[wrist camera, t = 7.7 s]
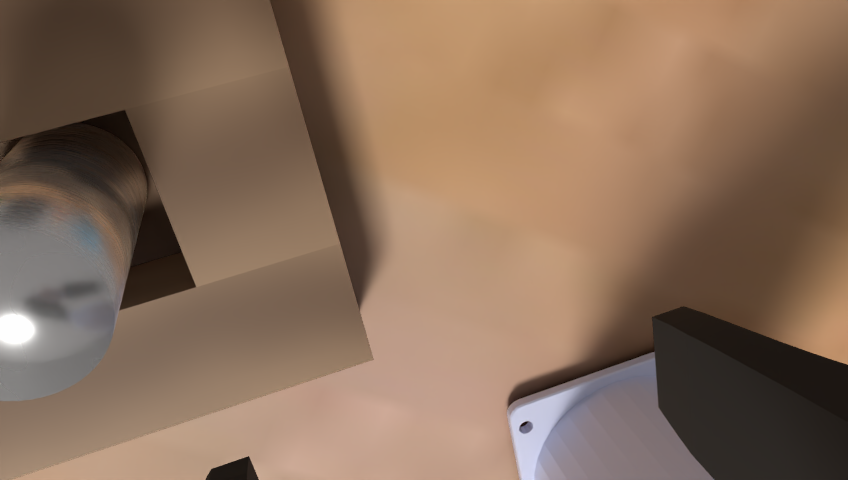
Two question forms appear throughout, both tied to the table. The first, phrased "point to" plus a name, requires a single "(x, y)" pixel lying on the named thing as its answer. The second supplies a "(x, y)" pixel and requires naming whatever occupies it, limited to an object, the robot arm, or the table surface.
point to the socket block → (185, 216)
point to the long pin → (63, 254)
